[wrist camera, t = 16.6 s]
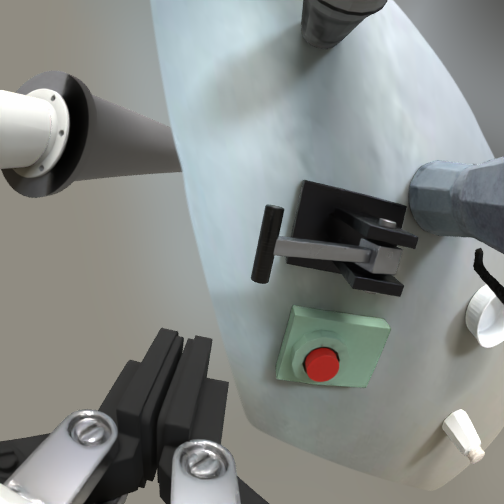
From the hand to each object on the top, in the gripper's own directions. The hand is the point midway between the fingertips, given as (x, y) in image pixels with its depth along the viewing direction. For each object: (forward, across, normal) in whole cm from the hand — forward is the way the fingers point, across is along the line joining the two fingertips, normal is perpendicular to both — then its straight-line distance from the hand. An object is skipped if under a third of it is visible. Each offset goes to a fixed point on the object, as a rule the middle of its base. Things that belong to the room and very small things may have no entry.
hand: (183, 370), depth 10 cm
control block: (+25, -14, +12) cm, 31 cm away
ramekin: (+25, -37, +4) cm, 45 cm away
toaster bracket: (+25, -12, -2) cm, 28 cm away
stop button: (+21, -12, +12) cm, 27 cm away
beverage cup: (+25, -5, -24) cm, 35 cm away
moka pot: (+25, -23, -8) cm, 35 cm away
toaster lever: (+15, -7, -2) cm, 16 cm away
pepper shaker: (+25, -44, +26) cm, 57 cm away
